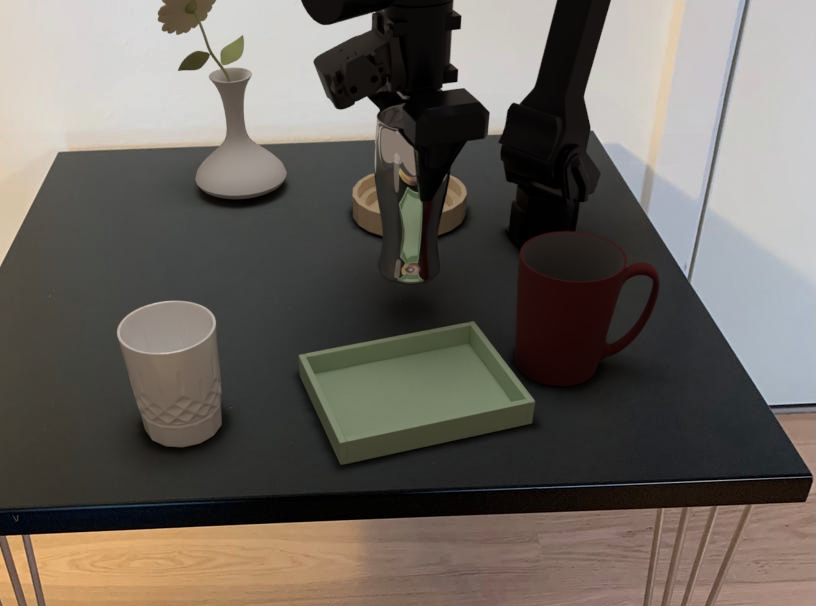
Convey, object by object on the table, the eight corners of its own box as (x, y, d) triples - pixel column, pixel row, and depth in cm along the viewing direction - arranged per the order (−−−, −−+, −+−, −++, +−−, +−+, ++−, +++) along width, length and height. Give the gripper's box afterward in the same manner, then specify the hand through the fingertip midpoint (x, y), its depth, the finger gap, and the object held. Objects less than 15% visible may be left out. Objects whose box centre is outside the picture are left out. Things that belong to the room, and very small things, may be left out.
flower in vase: (268, 163, 119) (250, -52, 102) (301, 196, 112) (287, -30, 95) (173, 183, 116) (138, -37, 99) (200, 219, 108) (167, -13, 91)
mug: (634, 341, 86) (659, 234, 79) (644, 397, 80) (672, 286, 72) (507, 334, 88) (519, 229, 80) (507, 388, 81) (520, 279, 74)
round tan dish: (440, 184, 113) (441, 160, 111) (482, 230, 104) (484, 206, 102) (339, 200, 110) (338, 176, 108) (373, 249, 101) (373, 224, 99)
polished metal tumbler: (439, 290, 86) (448, 132, 76) (367, 284, 87) (367, 128, 77) (448, 255, 91) (458, 103, 81) (380, 250, 92) (381, 99, 82)
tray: (472, 342, 87) (474, 320, 85) (532, 423, 77) (535, 401, 76) (299, 376, 84) (298, 354, 82) (340, 465, 74) (339, 442, 73)
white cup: (142, 400, 82) (121, 303, 75) (229, 393, 82) (216, 297, 75) (135, 456, 76) (112, 357, 69) (229, 449, 76) (215, 349, 69)
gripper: (293, -21, 78) (302, 157, 88) (355, 43, 64) (357, 244, 75) (415, -33, 80) (410, 142, 90) (500, 26, 66) (483, 223, 77)
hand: (412, 184), depth 83 cm, fingers closed on polished metal tumbler, 7 cm apart
